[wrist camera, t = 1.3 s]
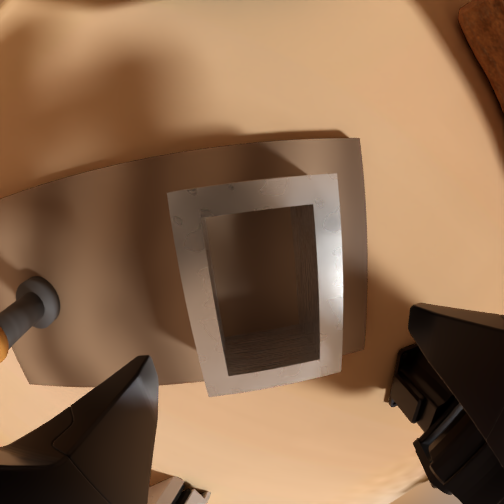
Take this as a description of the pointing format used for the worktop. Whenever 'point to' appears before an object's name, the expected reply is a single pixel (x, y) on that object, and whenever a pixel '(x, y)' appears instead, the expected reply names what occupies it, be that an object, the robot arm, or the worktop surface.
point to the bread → (486, 39)
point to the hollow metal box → (307, 280)
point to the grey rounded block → (175, 493)
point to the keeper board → (161, 261)
